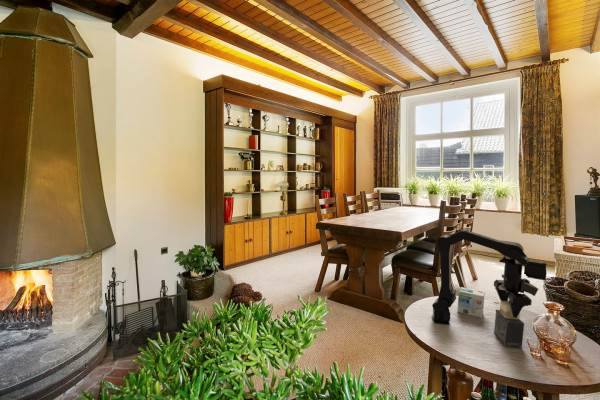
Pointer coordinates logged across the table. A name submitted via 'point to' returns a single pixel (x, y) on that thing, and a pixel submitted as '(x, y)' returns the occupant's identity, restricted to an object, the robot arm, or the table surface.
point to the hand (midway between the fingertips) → (509, 312)
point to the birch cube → (507, 310)
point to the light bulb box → (471, 302)
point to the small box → (509, 330)
